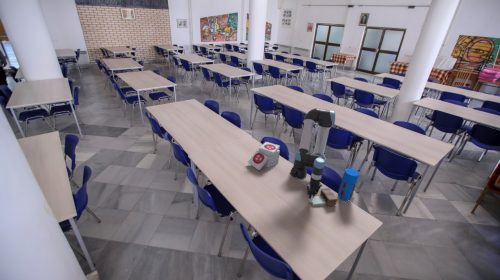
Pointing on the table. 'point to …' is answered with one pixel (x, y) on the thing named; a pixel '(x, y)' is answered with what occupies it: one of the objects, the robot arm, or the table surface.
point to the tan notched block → (329, 196)
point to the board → (318, 201)
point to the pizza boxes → (265, 156)
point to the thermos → (348, 184)
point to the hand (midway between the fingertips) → (310, 201)
